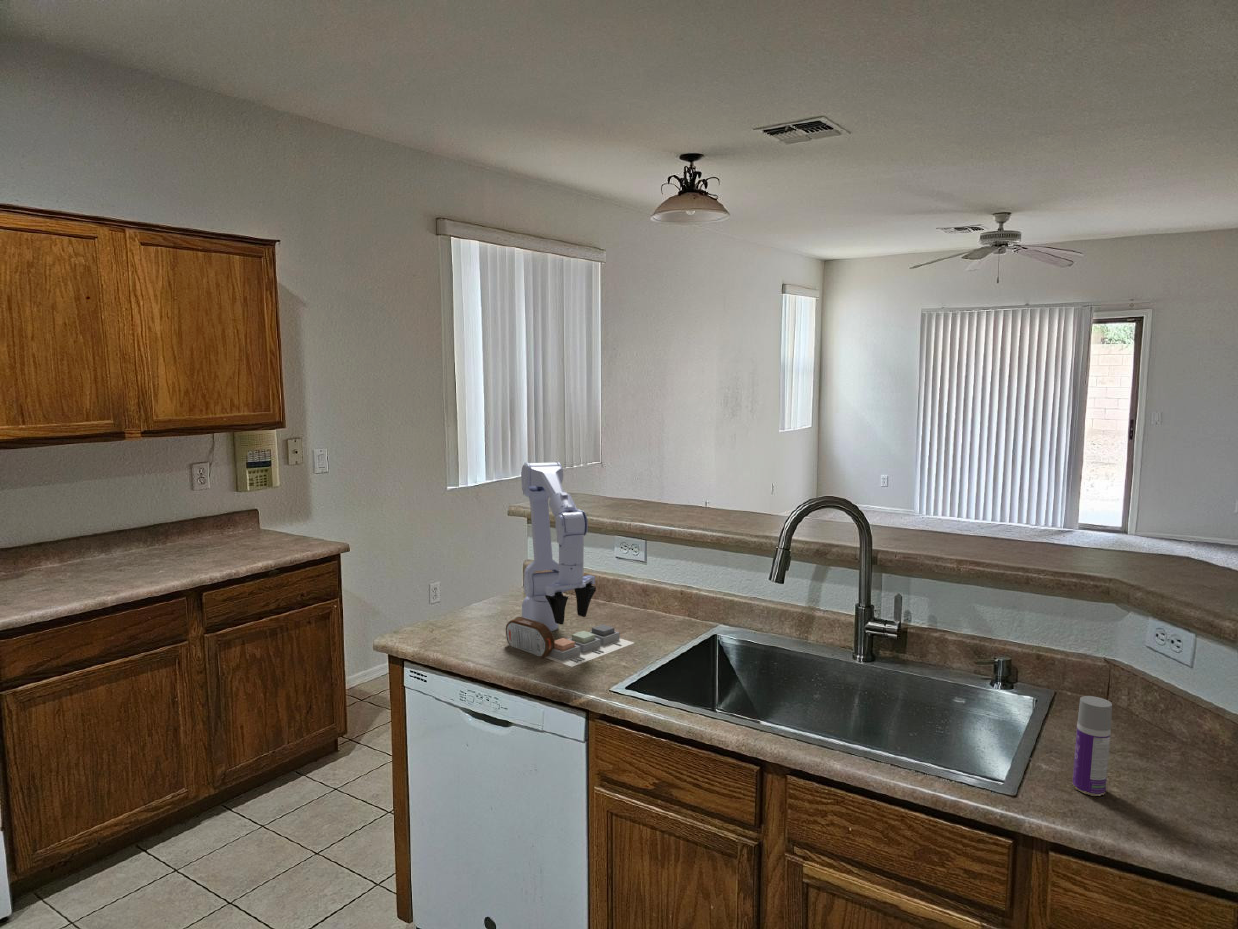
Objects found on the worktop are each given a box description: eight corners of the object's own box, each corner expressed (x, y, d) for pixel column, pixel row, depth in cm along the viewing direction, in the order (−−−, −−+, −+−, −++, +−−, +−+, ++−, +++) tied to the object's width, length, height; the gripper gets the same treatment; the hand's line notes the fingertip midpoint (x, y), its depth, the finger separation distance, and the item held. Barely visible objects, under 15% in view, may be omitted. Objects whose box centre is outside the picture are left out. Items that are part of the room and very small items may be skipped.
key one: (591, 635, 194) (591, 627, 194) (602, 631, 197) (602, 624, 197) (603, 639, 191) (603, 631, 191) (614, 635, 194) (614, 627, 194)
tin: (556, 659, 183) (554, 624, 182) (546, 663, 180) (544, 628, 179) (514, 646, 193) (512, 613, 192) (504, 650, 190) (502, 616, 189)
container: (1065, 782, 130) (1072, 696, 128) (1092, 781, 130) (1099, 695, 129) (1084, 797, 125) (1092, 707, 124) (1112, 796, 126) (1120, 707, 124)
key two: (571, 642, 189) (571, 634, 189) (583, 638, 192) (583, 630, 192) (583, 646, 186) (583, 638, 186) (595, 642, 189) (595, 634, 189)
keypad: (537, 658, 184) (537, 646, 184) (600, 636, 200) (600, 624, 200) (572, 671, 176) (572, 658, 176) (634, 646, 193) (635, 635, 193)
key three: (550, 650, 184) (550, 642, 183) (562, 646, 187) (562, 637, 186) (562, 654, 181) (562, 646, 181) (574, 650, 184) (574, 641, 184)
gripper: (561, 571, 174) (561, 630, 175) (604, 560, 185) (604, 616, 186) (539, 566, 178) (539, 624, 180) (582, 555, 189) (582, 610, 191)
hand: (570, 619), depth 183 cm, fingers open, 7 cm apart
